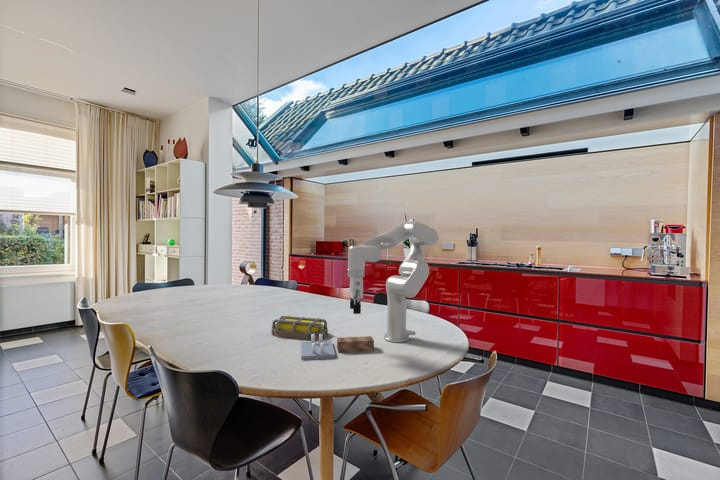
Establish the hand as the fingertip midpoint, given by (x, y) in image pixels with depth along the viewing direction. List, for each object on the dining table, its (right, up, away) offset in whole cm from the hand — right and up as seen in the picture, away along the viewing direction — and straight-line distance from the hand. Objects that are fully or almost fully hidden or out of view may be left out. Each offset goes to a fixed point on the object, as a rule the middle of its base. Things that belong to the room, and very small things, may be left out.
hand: (355, 311), depth 148 cm
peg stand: (-17, -17, -3) cm, 24 cm away
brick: (0, -18, 0) cm, 18 cm away
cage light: (-29, -17, +22) cm, 40 cm away
